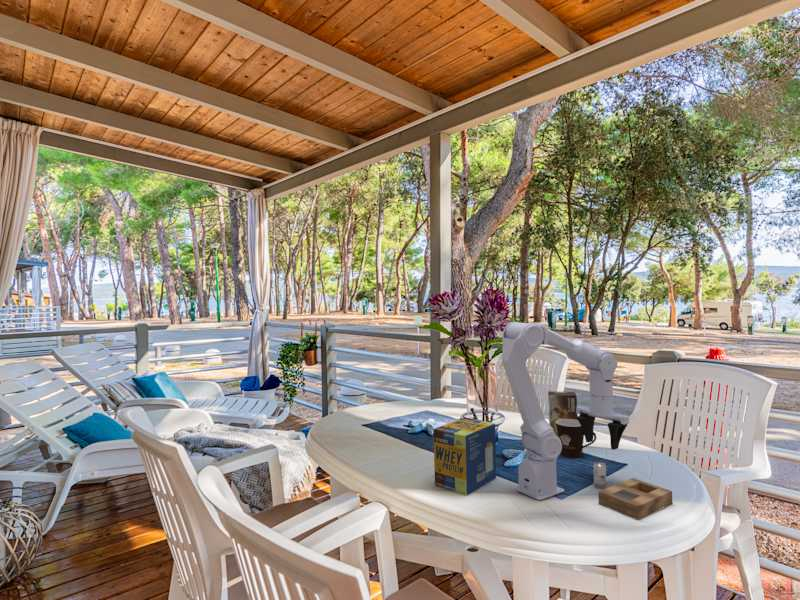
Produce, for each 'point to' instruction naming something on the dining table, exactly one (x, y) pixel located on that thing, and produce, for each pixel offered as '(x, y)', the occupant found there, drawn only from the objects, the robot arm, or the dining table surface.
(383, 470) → the dining table surface
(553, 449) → the robot arm
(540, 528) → the dining table surface
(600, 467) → the pin
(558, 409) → the coffee box
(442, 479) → the protein box
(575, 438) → the coffee mug
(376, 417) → the dining table surface
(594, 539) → the dining table surface
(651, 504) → the block
